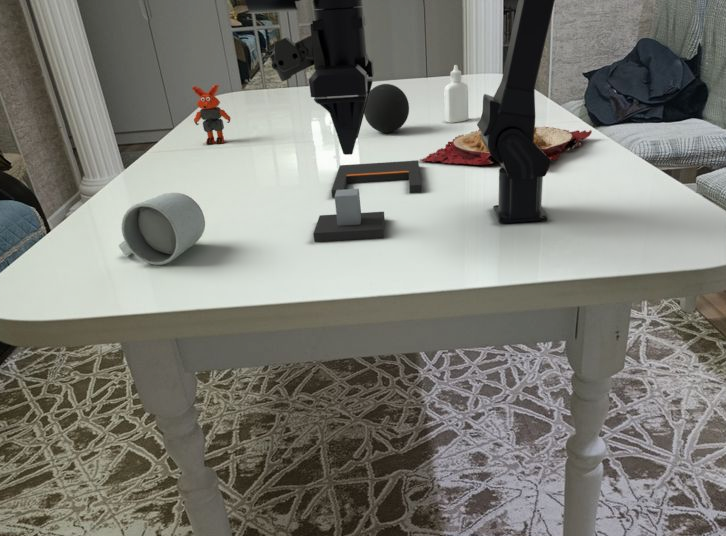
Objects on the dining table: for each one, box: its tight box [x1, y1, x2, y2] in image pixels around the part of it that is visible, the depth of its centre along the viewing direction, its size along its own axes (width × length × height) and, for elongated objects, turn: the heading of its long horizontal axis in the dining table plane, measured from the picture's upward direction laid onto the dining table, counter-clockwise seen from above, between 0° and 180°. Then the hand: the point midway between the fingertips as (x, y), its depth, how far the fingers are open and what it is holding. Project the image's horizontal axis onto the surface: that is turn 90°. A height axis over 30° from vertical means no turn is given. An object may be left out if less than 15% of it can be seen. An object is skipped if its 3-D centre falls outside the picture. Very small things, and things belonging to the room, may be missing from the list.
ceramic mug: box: [118, 192, 206, 266], centre depth 80 cm, size 11×8×8 cm
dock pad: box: [331, 159, 422, 199], centre depth 106 cm, size 16×14×1 cm
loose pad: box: [313, 188, 386, 243], centre depth 84 cm, size 7×9×5 cm
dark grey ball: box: [364, 83, 410, 134], centre depth 139 cm, size 10×10×10 cm
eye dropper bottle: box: [443, 64, 469, 124], centre depth 145 cm, size 4×6×12 cm
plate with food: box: [419, 126, 593, 166], centre depth 119 cm, size 24×26×4 cm
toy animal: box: [191, 83, 231, 146], centre depth 140 cm, size 8×6×12 cm
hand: (351, 146), depth 82 cm, fingers open, 9 cm apart
